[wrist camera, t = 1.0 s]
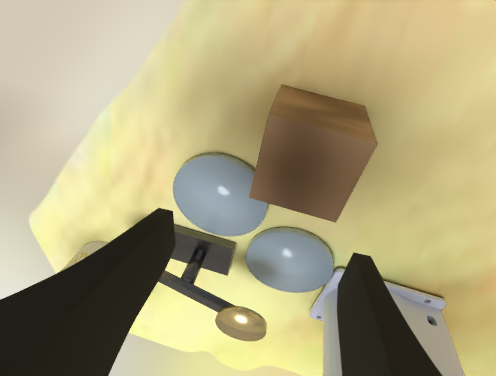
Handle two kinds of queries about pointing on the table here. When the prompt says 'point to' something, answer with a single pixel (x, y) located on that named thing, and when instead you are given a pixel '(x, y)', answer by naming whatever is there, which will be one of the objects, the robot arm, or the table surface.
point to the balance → (218, 260)
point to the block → (312, 153)
